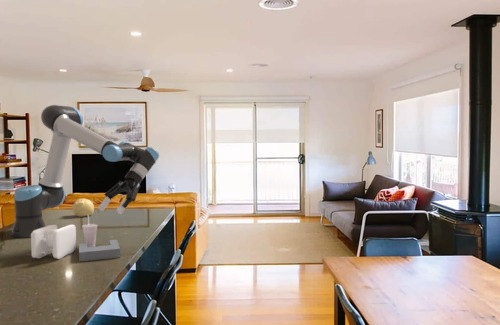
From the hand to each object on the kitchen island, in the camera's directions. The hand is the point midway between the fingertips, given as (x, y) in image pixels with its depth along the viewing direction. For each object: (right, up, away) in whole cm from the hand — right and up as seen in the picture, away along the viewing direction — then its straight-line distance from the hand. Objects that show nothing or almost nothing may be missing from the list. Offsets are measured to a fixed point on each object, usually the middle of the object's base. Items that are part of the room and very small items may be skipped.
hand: (108, 211), depth 186 cm
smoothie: (-6, -15, -6) cm, 17 cm away
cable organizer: (-15, -16, -19) cm, 29 cm away
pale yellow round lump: (-38, -11, +66) cm, 77 cm away
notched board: (+2, -15, -17) cm, 23 cm away
